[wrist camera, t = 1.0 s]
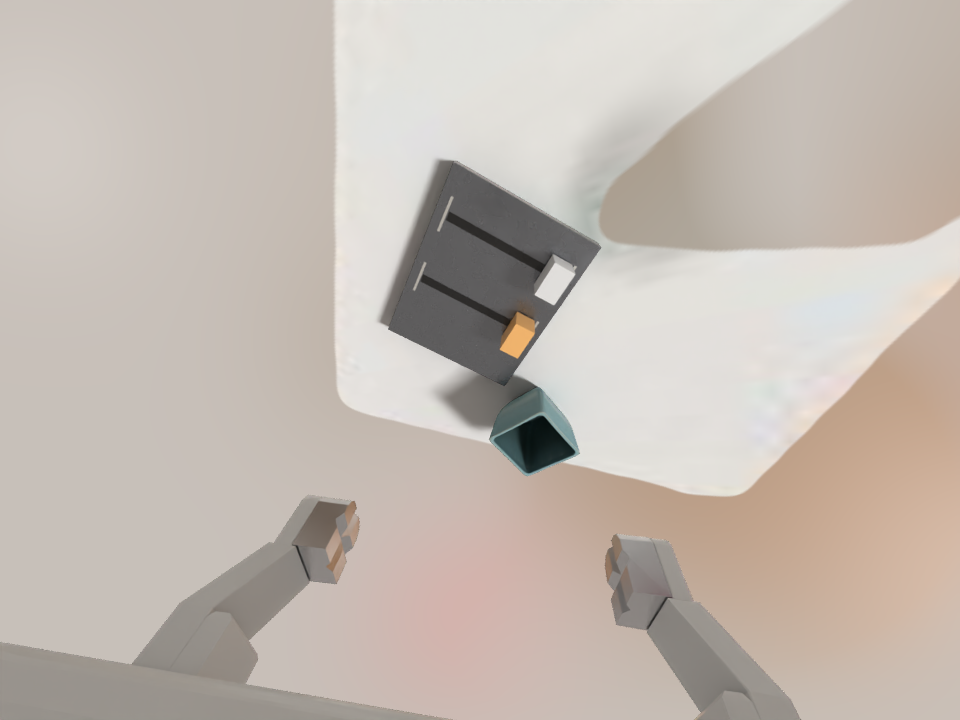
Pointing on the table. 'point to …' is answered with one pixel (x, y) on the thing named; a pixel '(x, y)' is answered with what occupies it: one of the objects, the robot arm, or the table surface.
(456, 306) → the console
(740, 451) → the table surface
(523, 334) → the fader
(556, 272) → the block
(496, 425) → the flower pot
